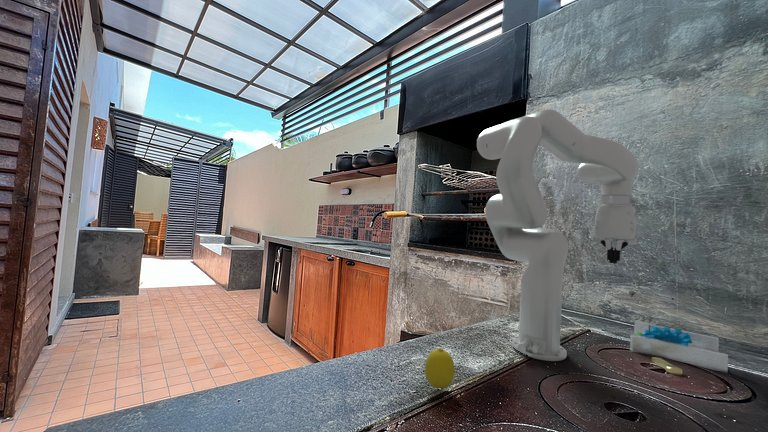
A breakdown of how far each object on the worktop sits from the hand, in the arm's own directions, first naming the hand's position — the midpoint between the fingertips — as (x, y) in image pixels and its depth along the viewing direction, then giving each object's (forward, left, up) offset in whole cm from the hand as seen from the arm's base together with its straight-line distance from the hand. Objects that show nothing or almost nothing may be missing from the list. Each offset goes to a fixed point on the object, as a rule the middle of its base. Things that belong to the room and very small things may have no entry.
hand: (613, 262), depth 92 cm
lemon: (-64, +20, -22) cm, 70 cm away
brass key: (-15, -12, -22) cm, 29 cm away
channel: (0, -14, -22) cm, 26 cm away
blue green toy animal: (-3, -12, -22) cm, 25 cm away
